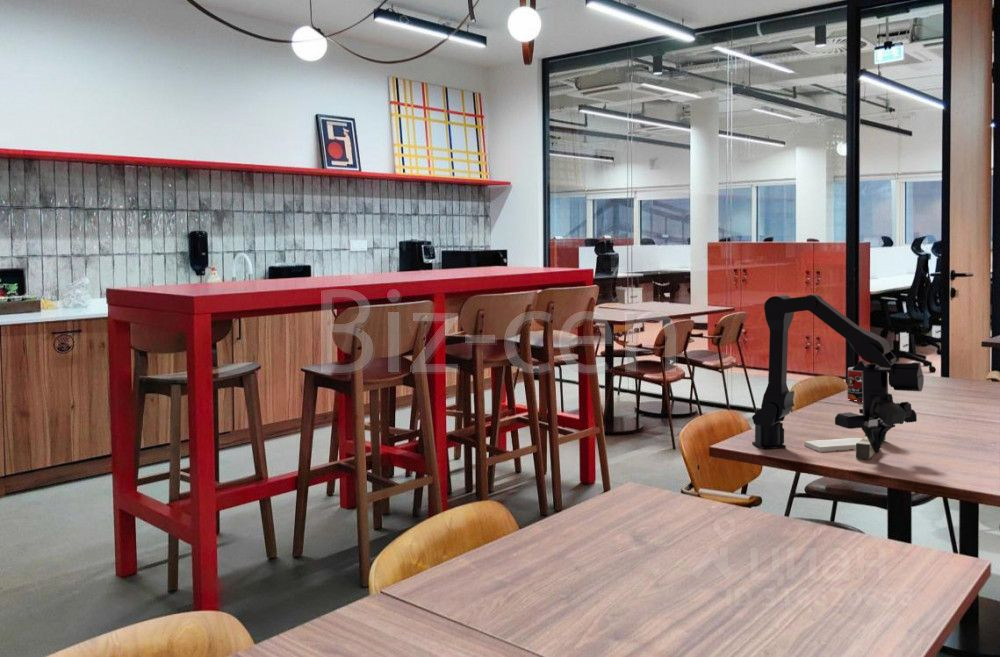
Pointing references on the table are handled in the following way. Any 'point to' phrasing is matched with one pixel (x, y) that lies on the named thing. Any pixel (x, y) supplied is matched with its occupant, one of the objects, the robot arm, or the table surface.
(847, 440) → the board
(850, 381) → the canned food
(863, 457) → the leg
